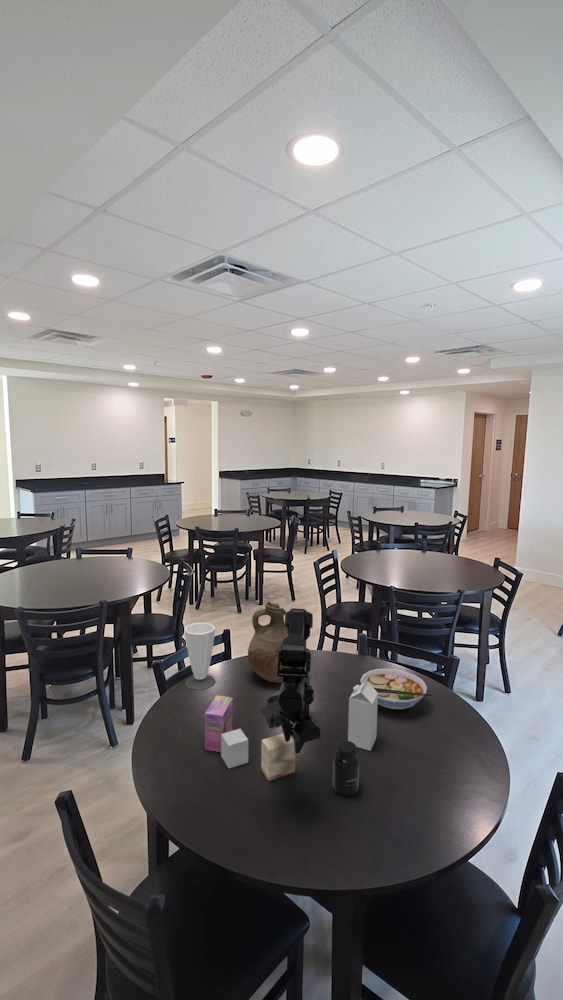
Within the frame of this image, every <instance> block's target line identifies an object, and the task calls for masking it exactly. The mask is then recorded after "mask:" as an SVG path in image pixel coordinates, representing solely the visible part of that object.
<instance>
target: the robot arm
mask: <svg viewBox="0 0 563 1000" xmlns="http://www.w3.org/2000/svg"><path fill="white" fill-rule="evenodd" d="M284 616H285V617H284V623H285V627H287V633H288V637H286V638H284V639H283V641H282V647H279V654H278V669H277V676H279V677H282V682H281V684H280V685H281V686H280V689H279V692H278V694H275V695H272V696H269V698H268V699H267V701H266V702H267V703H266V704H267V705H265V706H264V707H263V708H261V709H260V714H261V717H262V719H263V722H264V723H265V724H266V725H267V727H268V728H269V729H271V730H272V729H275V728H280V727H281V731H282V734H284V738H285V741H286V742H288V741H290V738H291V737H292V739H293V740H294V748H295V755H296V754H299V753H301V750H302V749H303V747H304V745H305V743H308V742H311V741H315V740H317V739H321V736H322V728H321V727H320V726H319V725H318V724H316V722H315V721H314V720H313V719H312V716H311V715H310V705H312V703H313V702H314V700H315V697H314V695H315V690H314V689H313V686H312V685H311V678H310V677H309V673H311V666H312V665H311V663H312V661H311V660H312V653H311V651H310V649H309V648H308V647H307V640H308V639H309V638H310V637H311V629H313V624H314V623H313V622H314V616H313V613H312V612H310V611H307V609H305V608H296V607H295V608H290V609H289V610H288V611H286V613H285V615H284ZM281 661H282V662H281ZM281 665H282V666H287V667H286V668H282V669H281V670H280V667H281Z"/></svg>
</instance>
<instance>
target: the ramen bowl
mask: <svg viewBox="0 0 563 1000" xmlns="http://www.w3.org/2000/svg"><path fill="white" fill-rule="evenodd" d="M366 679H367V682H368V683H369V684H370V685H371V686H372V687H373V688H374V689H375V690H376V691H377V693H378V704H377V705H379V706H381V707H384V708H387V709H392V710H405V709H408V708H412V707H414V705H416V704H417V703H419V702H420V701H421V700H422V699H423V698H424V697H432V694H429V693H427V688H428V686H427V685H426V683H425V681H424V680H423V679H421V678H420V677H419V676H417V675H415V674H414V673H411V672H408V671H405V670H401V669H397V668H396V669H395V668H377V669H376V668H375V669H371V670H368V671H366V673H364V674H362V676H361V678H360V680H359V681H360V683H361V684H363V683H364V682H365V680H366ZM361 684H360V685H361Z"/></svg>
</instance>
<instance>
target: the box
mask: <svg viewBox="0 0 563 1000" xmlns="http://www.w3.org/2000/svg"><path fill="white" fill-rule="evenodd" d="M233 710H234V698H233V697H232V696H225V695H215V696H214V698H213V700H212V702H211V703H210V704H209V707H208V708H207V710H206V711H205V712H204V750H205V751H209V752H215V751H216V753H221V734H223V733H226V732H230V731H233V730H234V729H233V719H234V718H233V717H234V716H233V713H234V711H233Z"/></svg>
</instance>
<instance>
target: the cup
mask: <svg viewBox="0 0 563 1000" xmlns="http://www.w3.org/2000/svg"><path fill="white" fill-rule="evenodd" d="M215 634H216V627H215V625H214V624H212V623H209V622H203V621H202V622H193V623H189V624H188V625H186V626H185V627H184V636H185V643H186V648H187V653H188V659H189V662H190V668H191V671H192V673H193V675H191V676H190V677H189V678H187V679H186V680H185V682H184V685H185V686H186V687H187V688H188V689H190V690H194V691H195V690H196V691H201V690H202V691H203V690H207V689H209V688H212V687H213V686H215V684H216V679H215V678H214V676H212V675H210V674H208V673H209V670H210V665H211V661H212V655H213V649H214V644H215V636H216V635H215Z"/></svg>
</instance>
